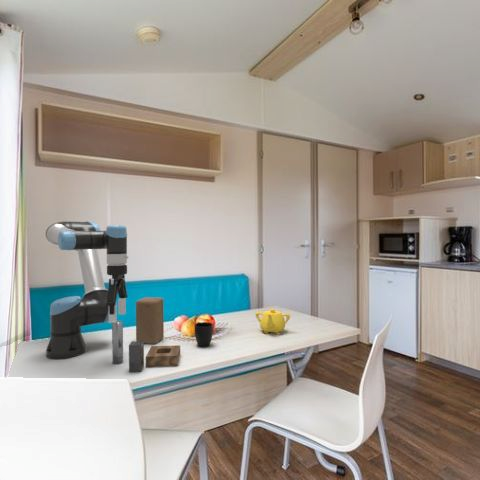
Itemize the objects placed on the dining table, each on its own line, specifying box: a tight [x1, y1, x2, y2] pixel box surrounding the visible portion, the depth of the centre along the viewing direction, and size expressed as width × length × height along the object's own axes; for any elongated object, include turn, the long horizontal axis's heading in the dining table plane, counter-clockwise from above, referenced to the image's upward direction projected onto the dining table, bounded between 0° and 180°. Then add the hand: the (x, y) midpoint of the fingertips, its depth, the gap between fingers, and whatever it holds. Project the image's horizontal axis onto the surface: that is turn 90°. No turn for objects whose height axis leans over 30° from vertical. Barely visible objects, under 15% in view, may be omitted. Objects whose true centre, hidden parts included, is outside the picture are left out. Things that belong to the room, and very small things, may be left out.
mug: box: [194, 321, 214, 348], centre depth 155 cm, size 8×12×10 cm
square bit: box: [128, 340, 145, 373], centre depth 126 cm, size 4×4×10 cm
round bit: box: [111, 320, 124, 365], centre depth 133 cm, size 4×4×16 cm
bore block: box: [145, 344, 181, 368], centre depth 135 cm, size 12×12×4 cm
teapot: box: [255, 308, 291, 336], centre depth 174 cm, size 14×14×12 cm
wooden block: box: [135, 296, 165, 345], centre depth 160 cm, size 10×10×20 cm
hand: (117, 318), depth 133 cm, fingers open, 13 cm apart
